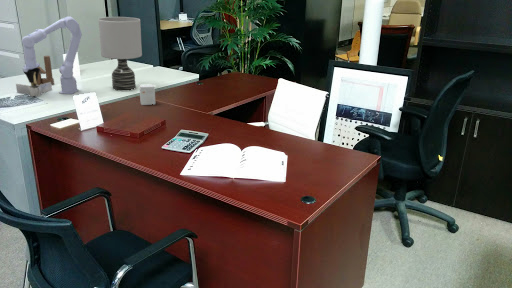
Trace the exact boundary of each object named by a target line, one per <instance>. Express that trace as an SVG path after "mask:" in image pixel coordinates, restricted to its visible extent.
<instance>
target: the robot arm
mask: <svg viewBox="0 0 512 288" xmlns="http://www.w3.org/2000/svg"><path fill="white" fill-rule="evenodd" d="M66 28H67V29H68V30H69V32H70V33H71V37H70V42H69V44H68V48H67V50H66V55H65V59H64V61H63V63H62V65H61V66H60V67H59V69H58V71H59V73H60V74H61V75H60V77H59V78H60V86H61V88H60V89H61V91H59V92H58V93H59V94H63V95H64V94H65V95H73V94H74V93H76V92H78V91H79V89H78V85H77V80H76V77H74V72H73V70H74V63H75V59H76V55H77V52H78V49H79V46H80V42H81V39H82V36H83V34H82V30H81V27H80V23H79V22H78V21H77V20H76V19H75V18H73V17H72V16H70V15H68V16H65V17H62V18H60V19H59V20H57V21H55V22H54V23H52V24H50V25H48V26H47V27H45V28H43V29H41V28H36V29H35V31H32V33H28V34H27V35H25V36H23V37H22V38H21V44H22V45H23V46H22V49H23V51H22V52H23V57H24V65H23V68H22V72H23V73H24V75H25V76H26V78H27V79H28V82H29V84H31V83H34V72H36V73H35V76H36V81H37V80H38V74H39V71H40V68H37V67H41V64H40V63H37V57H36V50H35V44H38V43H39V42H40V43H41V42H42V41H43V40H46V39H47V37H48V35H49V34H51V33H53V32H55V31H57V30H59V29H66Z"/></svg>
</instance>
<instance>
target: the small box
mask: <svg viewBox="0 0 512 288" xmlns="http://www.w3.org/2000/svg"><path fill="white" fill-rule="evenodd" d="M139 98H140V99H139V100H140V105H141V106H149V105H151V106H152V104H153V105H156V87H155V85H154V83H152V84H151V83H149V84H139Z"/></svg>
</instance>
